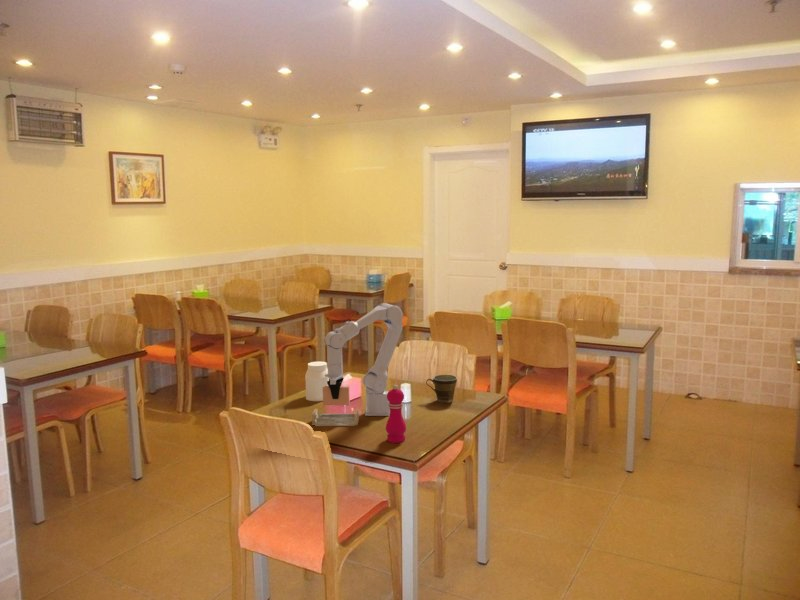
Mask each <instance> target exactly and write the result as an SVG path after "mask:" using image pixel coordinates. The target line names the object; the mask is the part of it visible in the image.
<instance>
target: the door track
mask: <svg viewBox="0 0 800 600" xmlns="http://www.w3.org/2000/svg"><path fill="white" fill-rule="evenodd" d="M359 409H360V408H359V407H358V408H357V407H356V408H355V412H354V413H318V408H314V409H313V411H312V413H311V417H312V418H311V422H312V423H311V425H315V426H314V427H355V426H358V425H359V420H360V410H359Z"/></svg>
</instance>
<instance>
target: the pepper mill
mask: <svg viewBox="0 0 800 600" xmlns="http://www.w3.org/2000/svg"><path fill="white" fill-rule="evenodd" d="M388 391H389V392H388V393H387V400H388V401H389V403H388V404H389V406H388V407H389V408H390V411H389V417H388V419H387V422H386V424H385V431H386V433H387V435H386V440H387V442H389V443H392V444H401V443H403V442H404V441H405V440H406V435H405V433H406V431H407V424H406V421H405V419H404V418H403V414H402V408H403V407H404V406H403V404H404V402H403V401H404V399H405V394H404V392H403V391H402V390H401V389H399V387H398V385H397V384H393V385H392V389H390V390H388Z"/></svg>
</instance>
